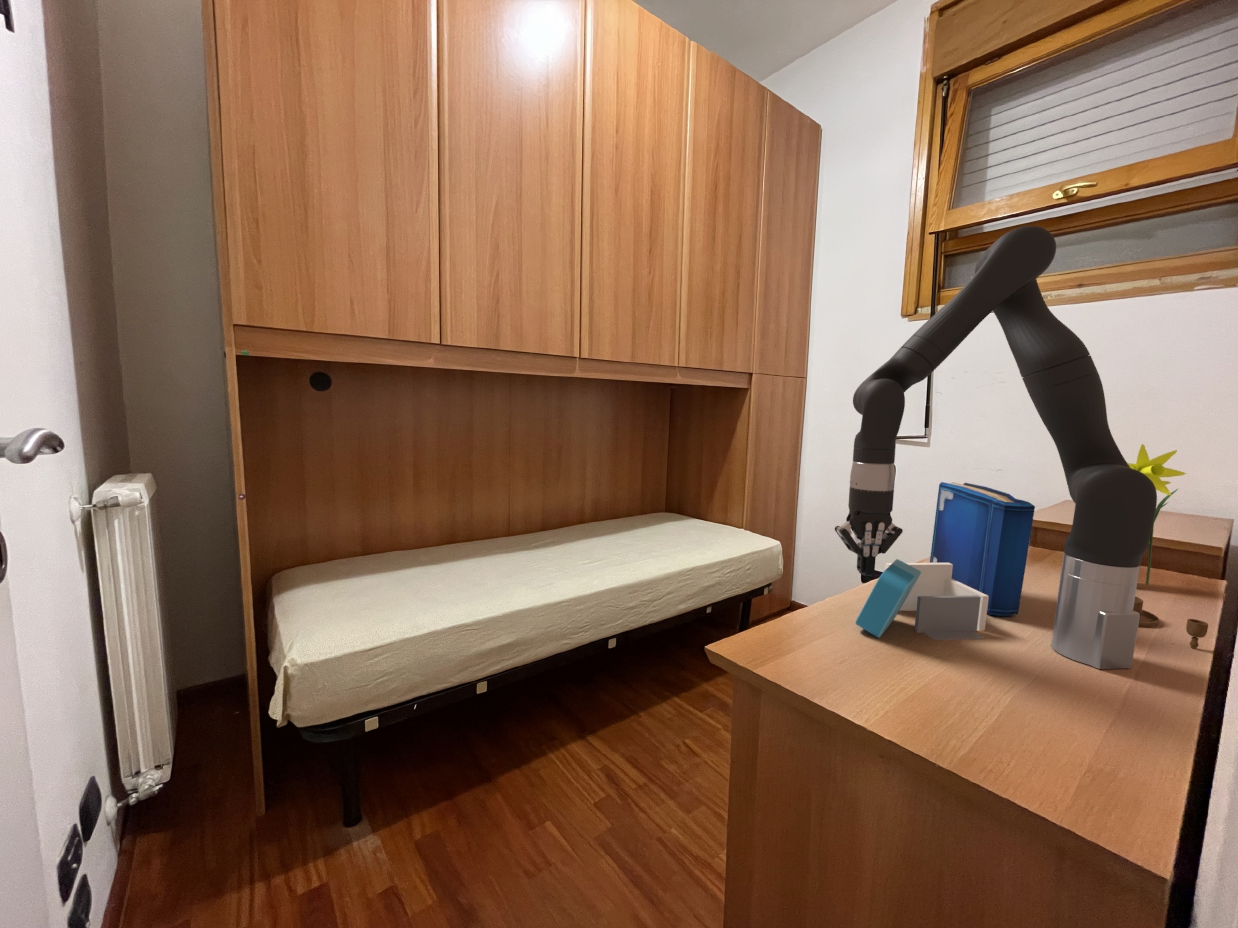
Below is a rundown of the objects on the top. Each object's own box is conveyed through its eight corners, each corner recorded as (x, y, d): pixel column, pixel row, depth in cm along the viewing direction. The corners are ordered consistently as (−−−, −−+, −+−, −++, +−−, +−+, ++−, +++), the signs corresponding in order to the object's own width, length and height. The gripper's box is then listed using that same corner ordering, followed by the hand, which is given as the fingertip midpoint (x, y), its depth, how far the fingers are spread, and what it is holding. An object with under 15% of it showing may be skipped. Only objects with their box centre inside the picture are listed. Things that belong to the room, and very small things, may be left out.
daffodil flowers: (1082, 568, 132) (1101, 439, 127) (1163, 584, 121) (1187, 443, 117) (1078, 584, 120) (1099, 442, 116) (1167, 602, 110) (1194, 447, 105)
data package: (872, 605, 100) (898, 556, 96) (894, 618, 98) (922, 569, 93) (852, 625, 91) (881, 573, 87) (877, 641, 89) (907, 587, 84)
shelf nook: (999, 639, 90) (1006, 587, 89) (928, 641, 89) (933, 588, 88) (943, 607, 104) (948, 562, 103) (881, 608, 103) (885, 563, 102)
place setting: (1165, 618, 103) (1170, 591, 102) (1212, 659, 86) (1218, 627, 85) (1056, 599, 112) (1059, 574, 111) (1078, 633, 95) (1082, 604, 94)
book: (1026, 620, 99) (1041, 499, 95) (990, 619, 99) (1005, 498, 96) (955, 581, 120) (966, 481, 117) (925, 581, 120) (936, 480, 117)
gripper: (849, 489, 89) (843, 581, 90) (917, 489, 90) (910, 580, 92) (828, 483, 96) (822, 568, 98) (891, 482, 97) (885, 567, 99)
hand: (865, 573), depth 95 cm, fingers closed
